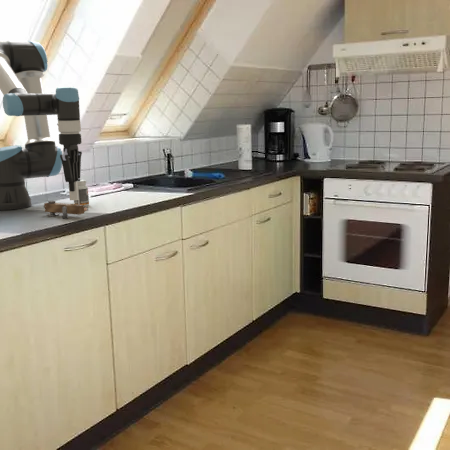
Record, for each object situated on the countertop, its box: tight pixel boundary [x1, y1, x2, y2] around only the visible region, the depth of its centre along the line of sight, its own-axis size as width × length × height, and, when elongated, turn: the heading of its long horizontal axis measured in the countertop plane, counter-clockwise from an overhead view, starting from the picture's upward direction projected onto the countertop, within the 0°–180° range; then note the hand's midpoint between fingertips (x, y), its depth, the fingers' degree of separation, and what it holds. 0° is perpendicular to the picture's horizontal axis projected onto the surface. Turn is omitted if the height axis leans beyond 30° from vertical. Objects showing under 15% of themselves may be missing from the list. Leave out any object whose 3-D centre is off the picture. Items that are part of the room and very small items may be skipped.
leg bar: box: [43, 200, 85, 216], centre depth 207 cm, size 16×2×4 cm, turn 63°
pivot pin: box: [46, 212, 60, 217], centre depth 210 cm, size 4×4×1 cm
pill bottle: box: [73, 179, 90, 207], centre depth 227 cm, size 6×6×10 cm
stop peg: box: [61, 207, 69, 220], centre depth 203 cm, size 2×2×4 cm
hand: (74, 199), depth 208 cm, fingers closed
